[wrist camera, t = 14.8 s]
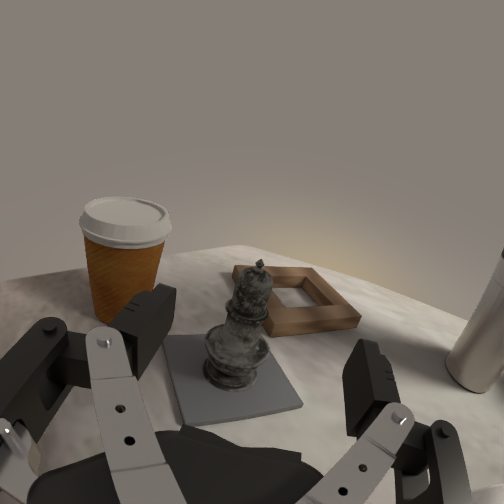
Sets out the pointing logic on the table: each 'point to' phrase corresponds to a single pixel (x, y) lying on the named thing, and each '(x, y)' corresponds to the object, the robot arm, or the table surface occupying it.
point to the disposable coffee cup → (122, 249)
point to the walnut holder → (305, 318)
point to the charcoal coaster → (219, 401)
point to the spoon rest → (489, 495)
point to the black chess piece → (240, 334)
